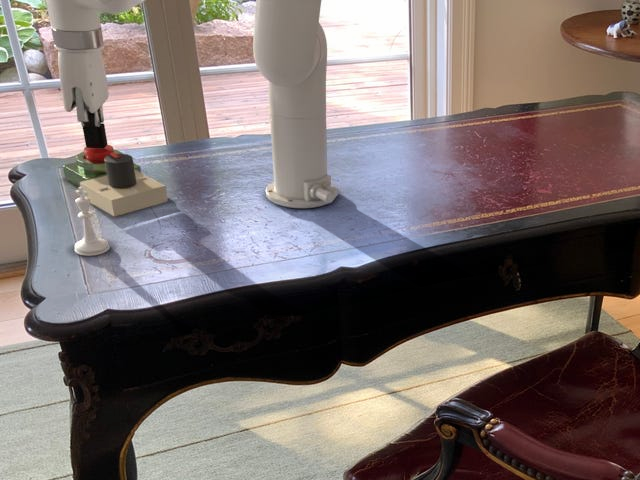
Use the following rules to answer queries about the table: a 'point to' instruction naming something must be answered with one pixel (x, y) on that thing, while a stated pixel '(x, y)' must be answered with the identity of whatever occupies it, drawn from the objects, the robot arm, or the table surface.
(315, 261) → the table surface
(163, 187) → the panel
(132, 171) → the knob
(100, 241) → the chess piece
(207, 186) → the table surface
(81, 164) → the switch box
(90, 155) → the power button
